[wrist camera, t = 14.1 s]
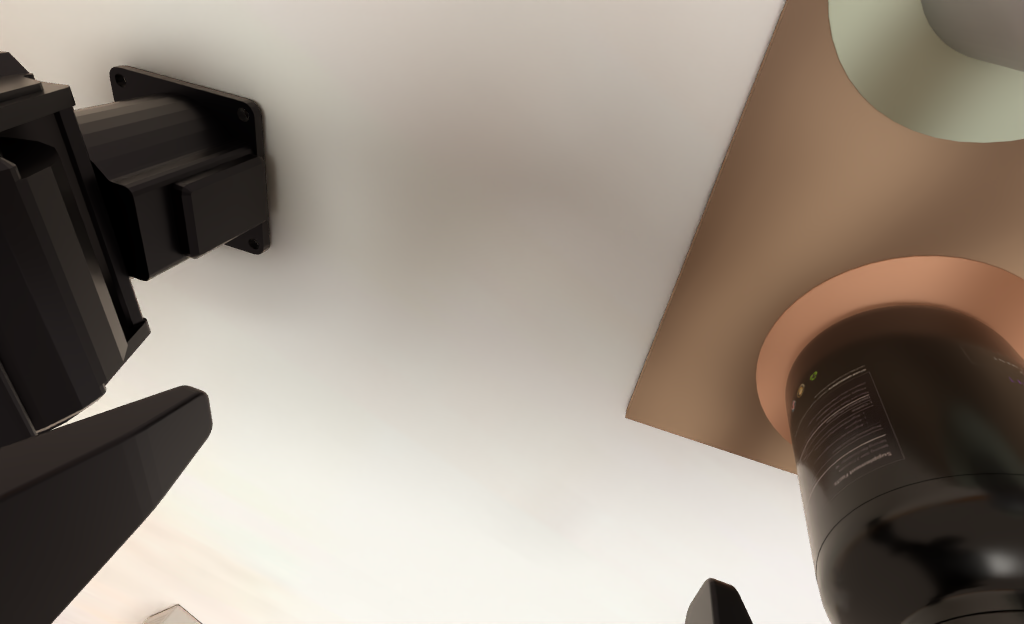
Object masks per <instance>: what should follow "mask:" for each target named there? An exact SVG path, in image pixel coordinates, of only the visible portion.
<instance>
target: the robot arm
mask: <svg viewBox="0 0 1024 624" xmlns="http://www.w3.org/2000/svg"><path fill="white" fill-rule="evenodd" d="M124 78H125V80H126V82H125V80H124ZM110 81H111V86H112V91H113V96H114V101H115V102H113V103H108V104H103V105H98V106H93V107H88V108H83V109H78V110H74V109H73V106H75V105H76V104H75V101H74V98H73V95H72V92H71V89H70V86H69V85H62V84H55V83H47V82H40V81H37V80H35V78H34V75H33V73H29V72H28V71H27V70H26V69H25V68H24V67H23V66H22V65H21V64H20V63H19V62H18V61H17V60H16V59H15V58H14V57H13V56H12V55H11V54H10V53H9V52H2V51H0V624H52V623H53V621H54V620H55V619H56V618H57V617H58V616H59V615H60V614H61V613H62V611H63V610H64V609H65V608H66V607H67V606H68V605H69V604H70V603H71V601H72V600H73V599H74V598H75V597H76V596H77V595H78V594H79V593H80V591H81V590H82V589H83V588H84V587H85V586H86V585H87V584H88V583H89V581H90V580H91V579H92V578H93V577H94V576H95V575H96V574H97V573H98V571H99V570H100V569H101V568H102V567H103V566H104V565H105V564H106V563H107V562H108V560H109V559H110V558H111V557H112V556H113V555H114V554H115V553H116V552H117V550H118V549H119V548H120V547H121V546H122V545H123V544H124V543H125V542H126V540H127V539H128V538H129V537H130V536H131V535H132V534H133V533H134V532H135V530H136V529H137V528H138V527H139V526H140V525H141V524H142V523H143V522H144V520H145V519H146V518H147V517H148V516H149V515H150V513H151V512H152V511H153V510H154V509H155V508H156V506H157V505H158V504H159V503H160V501H161V500H162V499H163V497H164V496H165V495H166V493H167V492H168V491H169V489H170V488H171V487H172V485H173V484H174V483H175V481H176V480H177V479H178V477H179V476H180V475H181V473H182V472H183V471H184V469H185V468H186V467H187V465H188V464H189V463H190V461H191V460H192V458H193V457H194V456H195V454H196V453H197V452H198V450H199V449H200V448H201V446H202V445H203V444H204V442H205V441H206V440H207V438H208V437H209V435H210V433H211V430H212V425H213V423H212V416H211V410H210V403H209V398H208V395H207V394H206V392H204V391H202V390H199V389H196V388H194V387H191V386H185V385H184V386H179V387H176V388H173V389H170V390H167V391H164V392H161V393H158V394H155V395H152V396H150V397H147V398H144V399H141V400H138V401H135V402H132V403H129V404H126V405H123V406H120V407H117V408H114V409H112V410H109V411H106V412H103V413H100V414H97V415H94V416H91V417H88V418H85V419H82V420H79V421H76V422H74V423H71V424H68V425H65V426H62V427H59V428H56V427H58V426H60V425H62V424H64V423H66V422H67V421H69V420H70V419H72V418H73V417H74V416H76V415H77V414H79V413H80V412H82V411H83V410H85V409H86V408H88V407H89V406H90V405H92V404H93V403H95V402H96V401H98V400H99V399H100V398H101V397H102V396H103V395H104V394H105V392H106V387H105V385H106V384H107V383H108V382H109V381H110V379H111V378H112V377H113V376H114V375H115V374H116V372H117V371H118V370H119V369H120V368H121V367H122V365H123V364H124V363H125V362H126V361H127V360H128V359H129V357H130V356H131V355H132V354H133V353H134V352H135V350H136V349H137V348H138V347H139V346H140V345H141V343H142V342H143V341H144V340H145V339H146V338H147V337H148V335H149V334H150V333H151V331H150V328H149V325H148V322H147V319H146V318H143V316H142V313H141V310H140V307H139V304H138V301H137V298H136V295H135V292H134V289H133V286H132V283H131V279H133V278H137V279H140V280H143V281H148V280H150V279H152V278H153V277H155V276H157V275H159V274H161V273H163V272H165V271H166V270H168V269H170V268H172V267H174V266H176V265H178V264H180V263H181V262H183V261H185V260H187V259H189V258H193V259H197V258H199V257H201V256H203V255H205V254H207V253H208V252H210V251H212V250H214V249H216V248H218V247H219V246H221V245H223V244H224V245H227V246H231V247H234V248H237V249H240V250H243V251H246V252H249V253H252V254H257V255H258V254H261V253H263V252H265V251H266V250H268V248H269V245H270V240H269V224H268V205H267V189H266V174H265V162H264V147H263V131H262V116H261V111H260V109H259V107H258V106H257V105H256V104H255V103H254V102H253V101H251V100H249V99H246V98H242V97H239V96H235V95H231V94H228V93H224V92H220V91H217V90H213V89H209V88H206V87H202V86H199V85H195V84H191V83H188V82H184V81H180V80H177V79H173V78H169V77H166V76H162V75H158V74H155V73H151V72H148V71H144V70H140V69H137V68H133V67H129V66H117V67H113V68H112V69H111V70H110ZM244 109H246V111H247V112H248V114H249V118H247V116H246V115H245V112H244ZM255 240H256V241H257V242H258V244H259V245H258V244H257V243H256V242H255ZM54 428H56V429H54ZM52 429H53V430H52ZM685 624H753V623H752V621H751V619H750V616H749V614H748V612H747V610H746V608H745V606H744V604H743V602H742V599H741V597H740V595H739V593H738V591H737V590H736V589H735V588H734V587H733V586H732V585H730V584H727V583H724V582H721V581H719V580H716V579H713V578H709V579H707V580H706V581H705V582H704V584H703V585H702V587H701V588H700V590H699V591H698V593H697V595H696V596H695V598H694V599H693V601H692V602H691V604H690V606H689V608H688V611H687V615H686V620H685Z"/></svg>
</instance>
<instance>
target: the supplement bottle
mask: <svg viewBox="0 0 1024 624" xmlns="http://www.w3.org/2000/svg"><path fill="white" fill-rule="evenodd" d="M785 401H786V410H787V417H788V424H789V430H790V435H791V441H792V446H793V452H794V457H795V463H796V469H797V474H798V480H799V485H800V491H801V497H802V502H803V508H804V513H805V519H806V524H807V530H808V536H809V541H810V547H811V552H812V558H813V563H814V569H815V575H816V580H817V584H818V588H819V592H820V596H821V600H822V604H823V607H824V609H825V611H826V614H827V616H828V618H829V620H830V622H831V623H832V624H1024V359H1023V358H1022V357H1021V356H1020V355H1019V354H1018V353H1017V352H1016V350H1015V349H1014V348H1013V347H1012V346H1011V345H1010V344H1009V343H1008V342H1007V341H1006V340H1005V339H1004V338H1003V337H1002V336H1001V335H999V334H998V333H997V332H996V331H994V330H993V329H992V328H990V327H989V326H987V325H986V324H984V323H982V322H980V321H978V320H976V319H974V318H972V317H969V316H967V315H964V314H962V313H959V312H956V311H952V310H949V309H944V308H939V307H932V306H923V305H898V306H888V307H882V308H876V309H872V310H868V311H864V312H861V313H858V314H855V315H852V316H850V317H847V318H845V319H843V320H841V321H839V322H837V323H835V324H833V325H832V326H830V327H828V328H827V329H825V330H824V331H822V332H821V333H820V334H818V335H817V336H816V337H815V338H814V339H812V340H811V341H810V342H809V343H808V344H807V345H806V346H805V347H804V349H803V350H802V351H801V352H800V354H799V355H798V356H797V358H796V360H795V361H794V363H793V365H792V368H791V370H790V372H789V375H788V378H787V383H786V389H785Z"/></svg>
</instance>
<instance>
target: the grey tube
mask: <svg viewBox="0 0 1024 624" xmlns="http://www.w3.org/2000/svg"><path fill="white" fill-rule="evenodd" d="M921 3H922V7H923V11H924V14H925V16H926V18H927V20H928V23H929V25H930V26H931V28H932V29H933V31H934V32H935V33H936V35H937V36H938V37H939V38H940V39H941V40H942V41H943V42H944V43H945V44H946V45H948V46H949V47H951V48H952V49H954V50H955V51H957V52H959V53H961V54H963V55H965V56H968V57H971V58H974V59H978V60H981V61H985V62H989V63H992V64H996V65H999V66H1003V67H1007V68H1010V69H1014V70H1018V71H1021V72H1024V0H921Z"/></svg>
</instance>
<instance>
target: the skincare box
mask: <svg viewBox="0 0 1024 624" xmlns="http://www.w3.org/2000/svg"><path fill="white" fill-rule="evenodd" d="M143 624H201V623H200V622H199V621H197V620H196V619H195V618H194V617H192V616H191V615H190V614H189V613H188V612H187V611H186V610H184V609H183V608H182V607H180V606H179V605H176V606H174V607H172V608H170V609H168V610H165V611H163V612H161V613H159V614H156V615H154V616H152V617H149V618H148V619H147V620H146V621H145V622H144V623H143Z"/></svg>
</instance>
